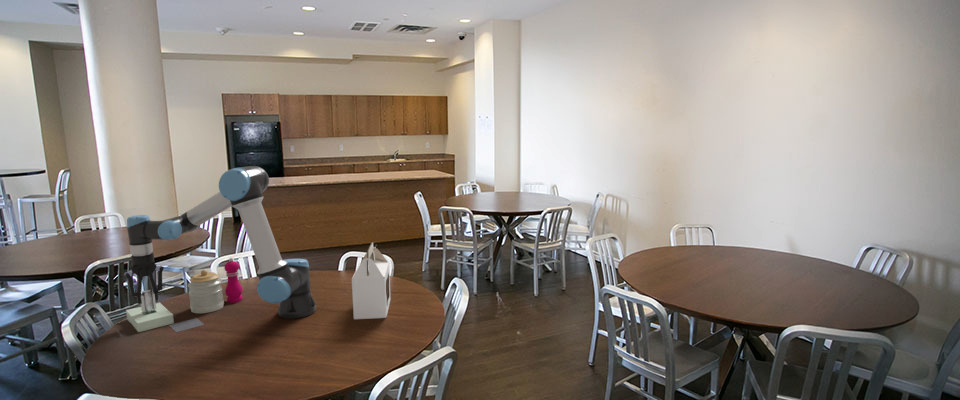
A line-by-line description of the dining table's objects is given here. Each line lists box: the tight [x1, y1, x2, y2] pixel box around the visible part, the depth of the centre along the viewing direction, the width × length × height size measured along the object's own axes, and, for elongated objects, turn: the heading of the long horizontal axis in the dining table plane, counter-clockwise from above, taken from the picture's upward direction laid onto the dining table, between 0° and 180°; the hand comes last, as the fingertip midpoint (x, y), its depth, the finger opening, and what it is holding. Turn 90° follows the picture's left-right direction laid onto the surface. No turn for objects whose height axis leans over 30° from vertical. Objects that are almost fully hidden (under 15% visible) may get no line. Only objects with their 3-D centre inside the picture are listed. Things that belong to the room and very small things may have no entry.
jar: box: [187, 269, 225, 314], centre depth 213 cm, size 13×13×18 cm
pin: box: [141, 289, 154, 315], centre depth 199 cm, size 3×3×12 cm
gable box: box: [351, 242, 391, 320], centre depth 209 cm, size 22×13×28 cm, turn 6°
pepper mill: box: [223, 257, 244, 304], centre depth 222 cm, size 7×7×20 cm
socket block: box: [125, 302, 175, 333], centre depth 200 cm, size 20×12×4 cm, turn 46°
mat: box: [168, 317, 205, 333], centre depth 196 cm, size 10×10×1 cm
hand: (148, 309), depth 200 cm, fingers closed on pin, 3 cm apart
